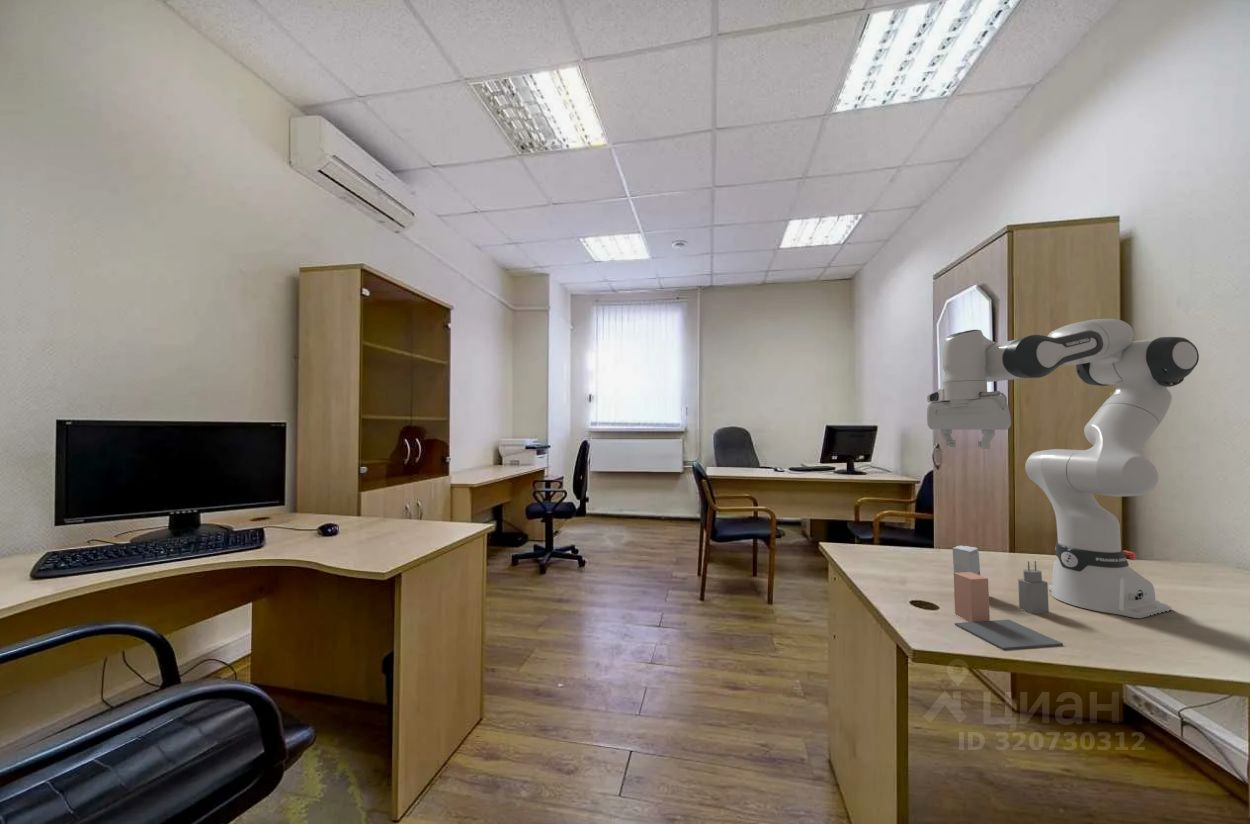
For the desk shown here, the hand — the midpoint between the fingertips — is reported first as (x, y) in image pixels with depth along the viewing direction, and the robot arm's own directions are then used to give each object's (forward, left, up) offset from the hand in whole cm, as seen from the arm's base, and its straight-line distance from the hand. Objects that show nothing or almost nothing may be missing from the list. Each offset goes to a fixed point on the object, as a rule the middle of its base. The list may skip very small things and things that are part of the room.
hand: (966, 447), depth 108 cm
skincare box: (-7, -8, -40) cm, 42 cm away
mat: (+6, +14, -40) cm, 43 cm away
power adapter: (-13, +4, -40) cm, 42 cm away
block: (+6, +6, -40) cm, 41 cm away
